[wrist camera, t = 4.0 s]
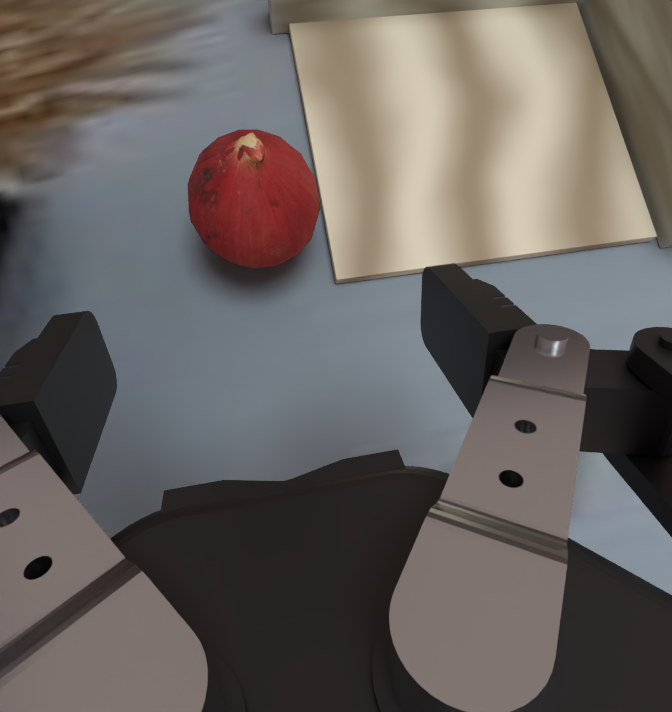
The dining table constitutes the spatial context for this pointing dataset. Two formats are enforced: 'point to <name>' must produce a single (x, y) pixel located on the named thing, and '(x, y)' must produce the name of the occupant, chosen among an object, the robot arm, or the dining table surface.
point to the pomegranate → (253, 199)
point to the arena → (483, 127)
